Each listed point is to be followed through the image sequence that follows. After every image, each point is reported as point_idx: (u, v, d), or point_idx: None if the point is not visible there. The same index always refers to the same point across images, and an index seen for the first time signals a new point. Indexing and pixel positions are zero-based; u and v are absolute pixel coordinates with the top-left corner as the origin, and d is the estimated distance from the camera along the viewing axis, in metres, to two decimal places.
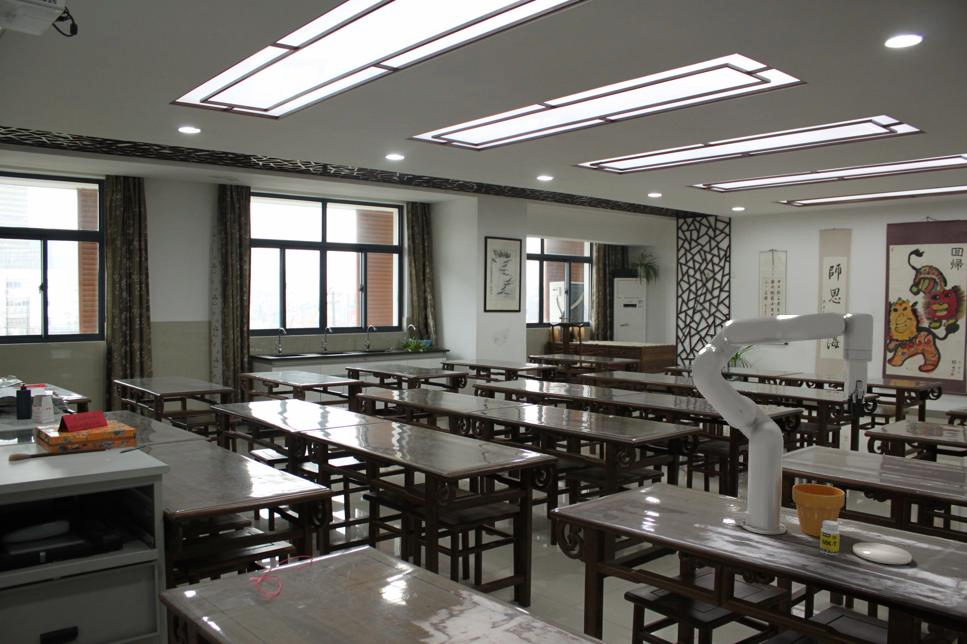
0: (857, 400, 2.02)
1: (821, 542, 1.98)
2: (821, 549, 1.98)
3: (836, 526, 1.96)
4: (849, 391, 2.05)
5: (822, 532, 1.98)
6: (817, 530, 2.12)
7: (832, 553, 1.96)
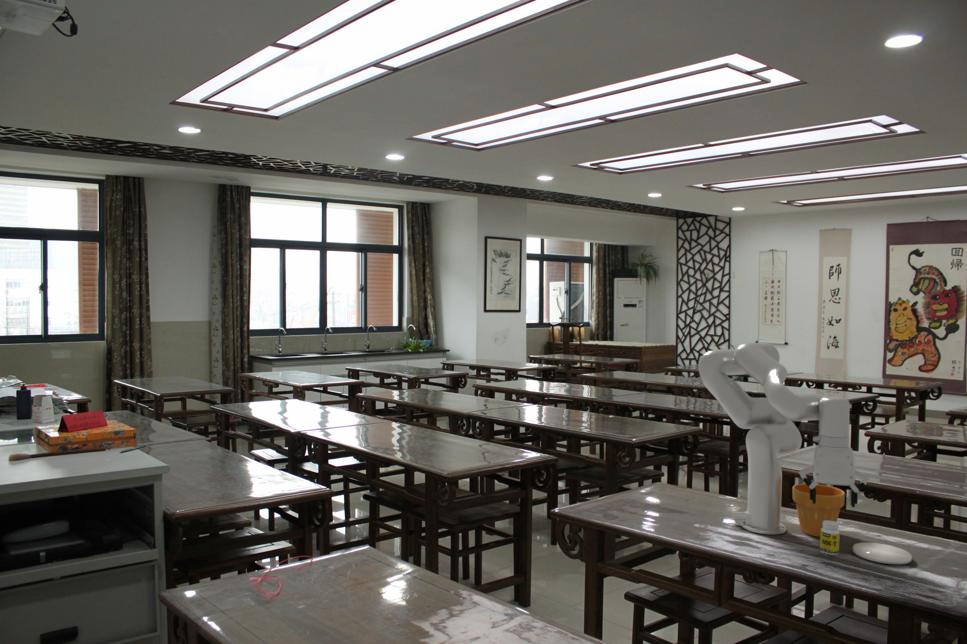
0: None
1: (821, 542, 1.98)
2: (821, 549, 1.98)
3: (836, 526, 1.96)
4: (854, 481, 1.93)
5: (822, 532, 1.98)
6: (817, 530, 2.12)
7: (832, 553, 1.96)
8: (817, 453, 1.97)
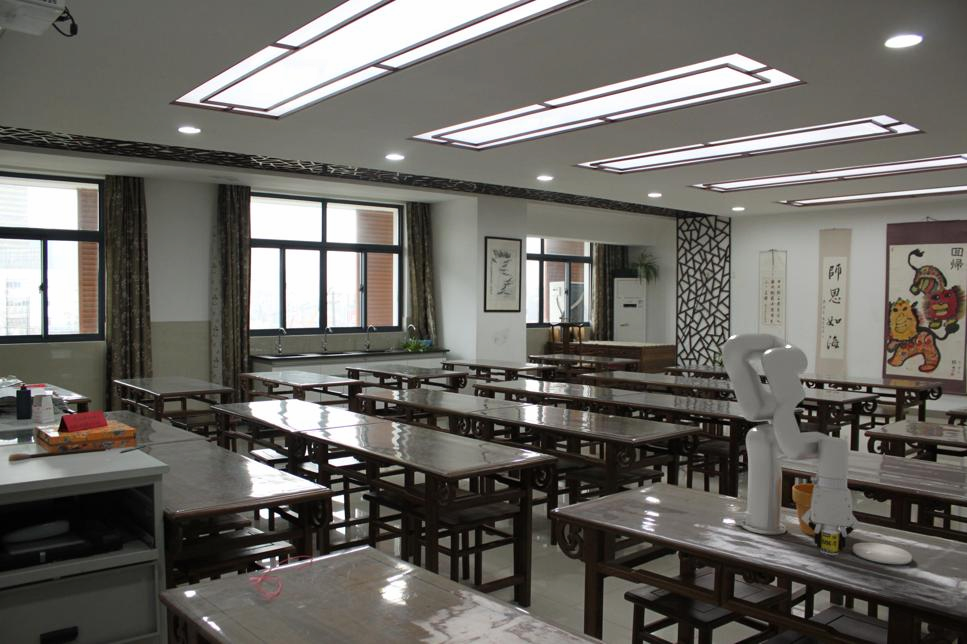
0: None
1: (821, 542, 1.98)
2: (821, 549, 1.98)
3: (836, 526, 1.96)
4: (851, 523, 1.94)
5: (822, 532, 1.98)
6: None
7: (832, 553, 1.96)
8: (815, 493, 1.97)
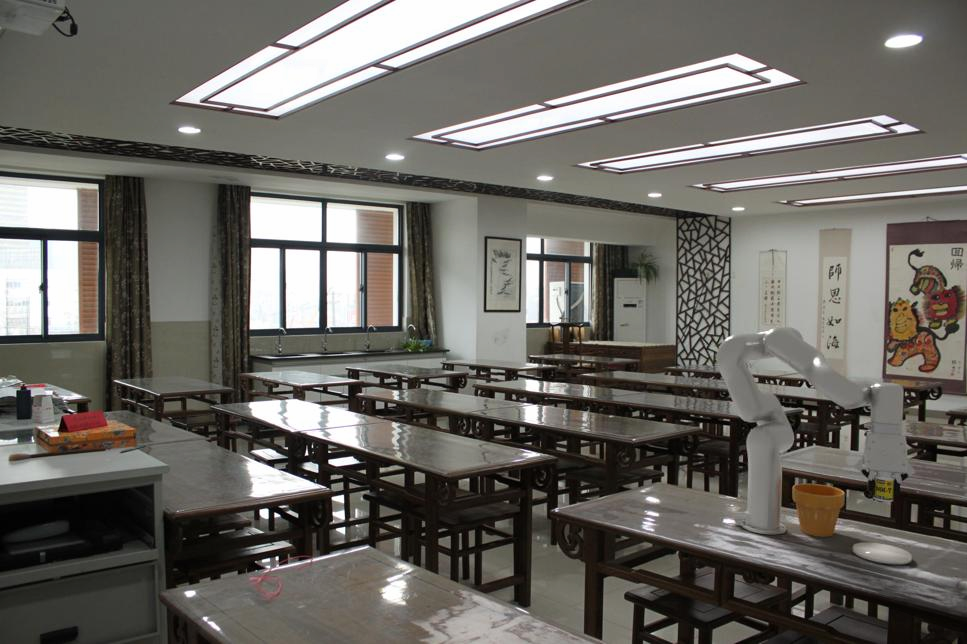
0: None
1: (875, 489, 1.95)
2: (875, 496, 1.95)
3: (891, 472, 1.93)
4: (906, 469, 1.91)
5: (876, 479, 1.94)
6: (817, 530, 2.12)
7: (887, 500, 1.93)
8: (869, 439, 1.94)
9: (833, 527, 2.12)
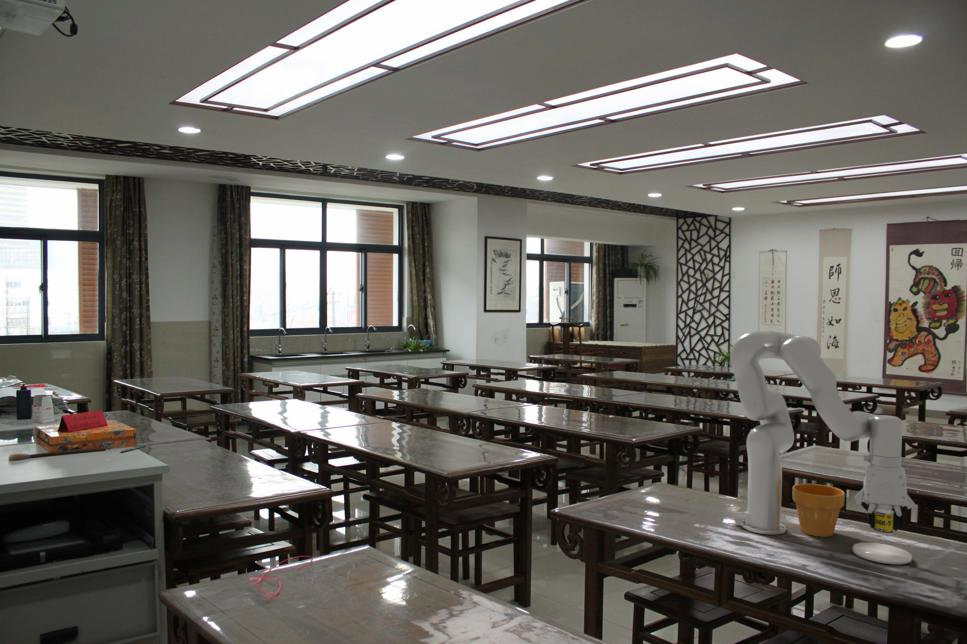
0: None
1: (875, 522, 1.95)
2: (875, 529, 1.95)
3: (890, 505, 1.93)
4: (906, 502, 1.91)
5: (876, 511, 1.95)
6: (817, 530, 2.12)
7: (887, 533, 1.93)
8: (868, 472, 1.94)
9: (833, 527, 2.12)
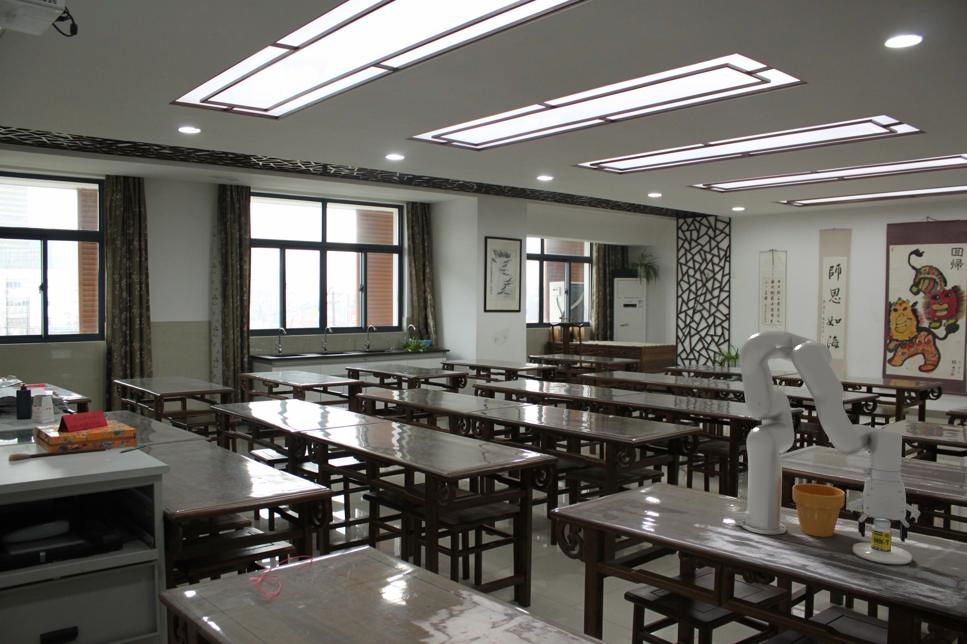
0: None
1: (873, 540, 1.95)
2: (873, 547, 1.95)
3: (888, 524, 1.94)
4: (905, 516, 1.91)
5: (874, 530, 1.95)
6: (817, 530, 2.12)
7: (884, 551, 1.93)
8: (867, 486, 1.94)
9: (833, 527, 2.12)
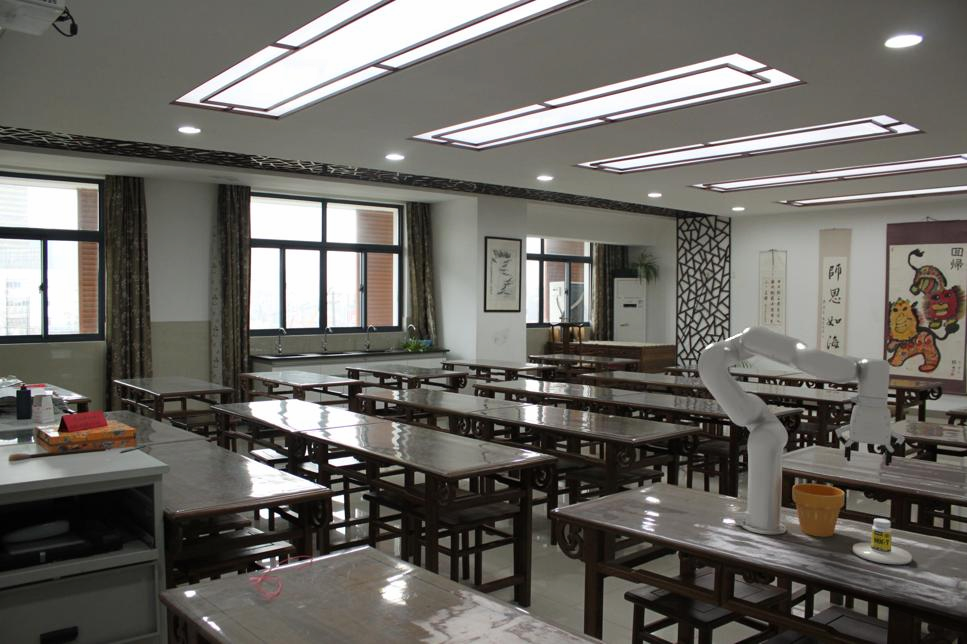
0: None
1: (873, 540, 1.95)
2: (873, 547, 1.95)
3: (888, 524, 1.94)
4: (889, 441, 1.99)
5: (874, 530, 1.95)
6: (817, 530, 2.12)
7: (884, 551, 1.93)
8: (854, 412, 2.02)
9: (833, 527, 2.12)
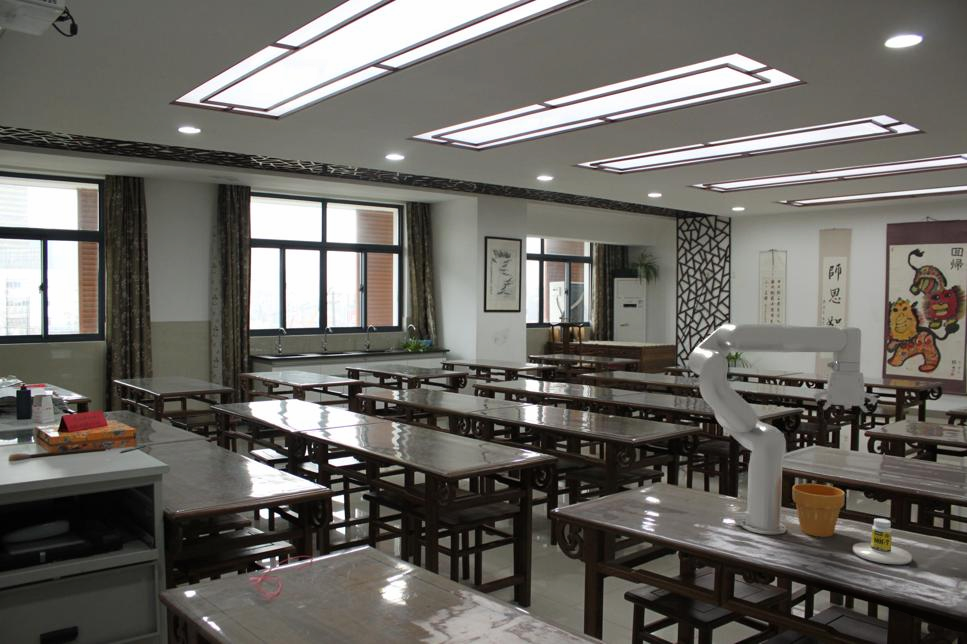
0: None
1: (873, 540, 1.95)
2: (873, 547, 1.95)
3: (888, 524, 1.94)
4: (863, 402, 2.15)
5: (874, 530, 1.95)
6: (817, 530, 2.12)
7: (884, 551, 1.93)
8: (831, 377, 2.18)
9: (833, 527, 2.12)
